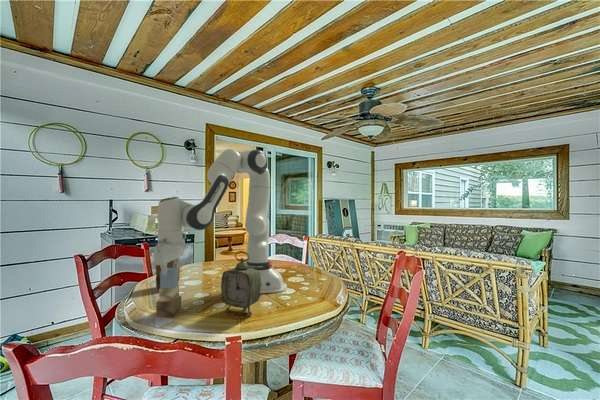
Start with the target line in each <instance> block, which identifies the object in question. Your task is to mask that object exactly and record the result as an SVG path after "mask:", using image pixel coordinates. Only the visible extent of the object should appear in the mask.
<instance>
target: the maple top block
mask: <svg viewBox="0 0 600 400" xmlns="http://www.w3.org/2000/svg"><path fill="white" fill-rule="evenodd" d="M158 291H159V293H158V298H159V299H158V301H159V302H173V301H175V300H176V299H177V298H178V297H179V296H180V284H178V285H177V286H176V287H174V288H170V289H160V288H158Z"/></svg>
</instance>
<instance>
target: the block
mask: <svg viewBox="0 0 600 400" xmlns="http://www.w3.org/2000/svg"><path fill="white" fill-rule="evenodd" d="M180 260H181V259H180ZM180 260H179V264H178V284H179V281H180V276H181V273H180V271H181V270H180ZM173 264H174V260H172V261H170V262H168V263H167V268H173ZM160 271H161V267H160V265H155V273H156V274H155V287H156V289H160Z"/></svg>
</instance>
